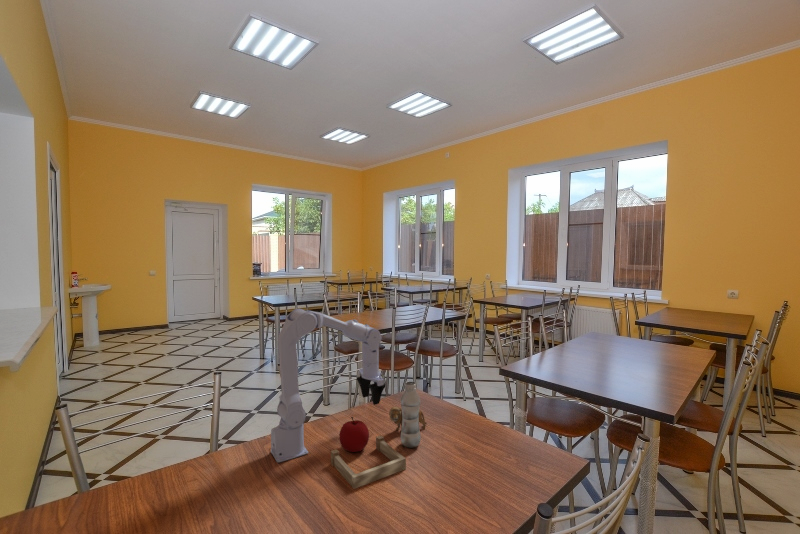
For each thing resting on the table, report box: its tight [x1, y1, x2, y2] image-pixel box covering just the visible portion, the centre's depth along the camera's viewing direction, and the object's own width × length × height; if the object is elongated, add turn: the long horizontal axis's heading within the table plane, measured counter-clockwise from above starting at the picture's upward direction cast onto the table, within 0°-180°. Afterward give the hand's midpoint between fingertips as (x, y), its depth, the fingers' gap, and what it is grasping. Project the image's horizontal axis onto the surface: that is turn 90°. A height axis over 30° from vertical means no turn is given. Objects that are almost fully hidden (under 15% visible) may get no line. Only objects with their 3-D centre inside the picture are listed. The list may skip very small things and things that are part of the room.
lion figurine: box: [388, 406, 428, 434], centre depth 131 cm, size 15×5×9 cm, turn 118°
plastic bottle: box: [400, 380, 422, 448], centre depth 120 cm, size 6×7×20 cm
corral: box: [330, 434, 407, 490], centre depth 109 cm, size 17×14×4 cm
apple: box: [338, 416, 370, 453], centre depth 118 cm, size 9×9×10 cm
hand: (370, 400), depth 132 cm, fingers open, 7 cm apart
